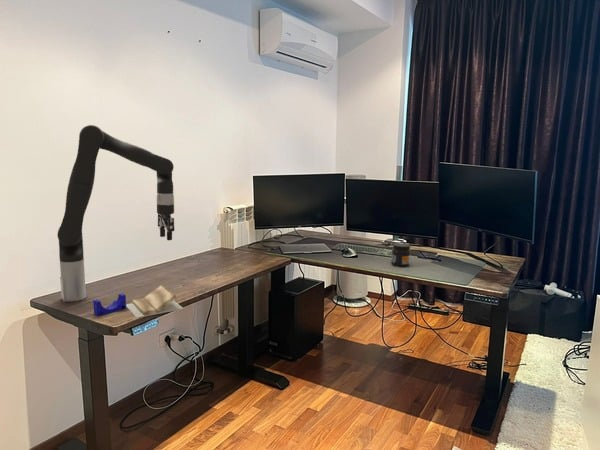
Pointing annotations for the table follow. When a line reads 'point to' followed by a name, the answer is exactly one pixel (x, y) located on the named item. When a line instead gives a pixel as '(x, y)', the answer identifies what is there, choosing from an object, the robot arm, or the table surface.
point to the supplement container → (401, 255)
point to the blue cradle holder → (110, 306)
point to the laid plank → (144, 306)
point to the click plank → (160, 297)
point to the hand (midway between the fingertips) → (166, 238)
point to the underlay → (168, 308)
